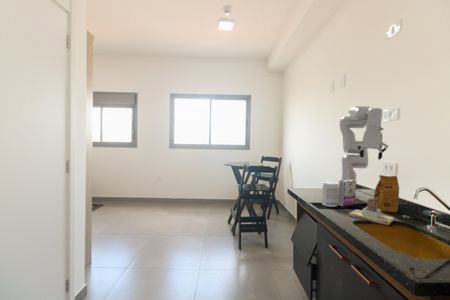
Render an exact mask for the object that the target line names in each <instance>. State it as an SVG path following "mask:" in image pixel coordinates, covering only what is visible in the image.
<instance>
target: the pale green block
mask: <svg viewBox="0 0 450 300" xmlns="http://www.w3.org/2000/svg"><path fill="white" fill-rule="evenodd" d="M381 213H382V212H381V210H380V209H376V212H373V211H369V210H367V206H366V207H365V208H362V216H367V217H371V218H377V217H379V216H380V214H381Z"/></svg>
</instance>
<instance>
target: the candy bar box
mask: <svg viewBox="0 0 450 300" xmlns="http://www.w3.org/2000/svg"><path fill="white" fill-rule="evenodd" d="M338 186H339V188H338V205H337V206H340V207H349V206H355V205H356V200H355V196H356V192H357V191H356V190H357V179H356V180H342V179H341V180H338ZM356 197H357V196H356Z"/></svg>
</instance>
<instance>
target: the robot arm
mask: <svg viewBox="0 0 450 300" xmlns="http://www.w3.org/2000/svg"><path fill="white" fill-rule="evenodd" d="M382 118H383V109H382V108H378V107H372V108H371V107H370V106H363V105H362V106H361V105H360V106H359V105H354V106H352V107H350V108H349V110H348V116H343V117H341V118H340V121H339V129H340V133H341V136H342V148H343V152H344V153H345V155H343V156H342V158H341V169H342V170H341V180H356V181H357V172H356V171H355V169H367V168H368V166H369V150H368V149H372V150H378V154H377V155H378V157H377V159H378V160H381V159H382V158H383V153H384V152H385V151H387V149H388V148H389V144H386V143H385V142H383V132H382V131H384V127H382ZM364 128H365V131H364V133H363V137H362V140H356V134H355V132H354V131H353V130H352V129H364ZM383 146H384V147H383ZM355 199H356V200H357V199H358V198H357V196H355Z"/></svg>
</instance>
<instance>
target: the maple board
mask: <svg viewBox="0 0 450 300" xmlns="http://www.w3.org/2000/svg"><path fill="white" fill-rule="evenodd" d="M348 217H350V218H351V217H352V218H355V217H356V219H359V218H360V220H364V221H369V222H373V223H377V224H381V225H386V226H389V225H390V224H391V223H392V222H394V221H395V217H394V216H390V215H385V214H381V213H380V216H379V217H377V218H371V217H367V216H362V210H361V209H354V210H352V211H351V212H349V213H348Z"/></svg>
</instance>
